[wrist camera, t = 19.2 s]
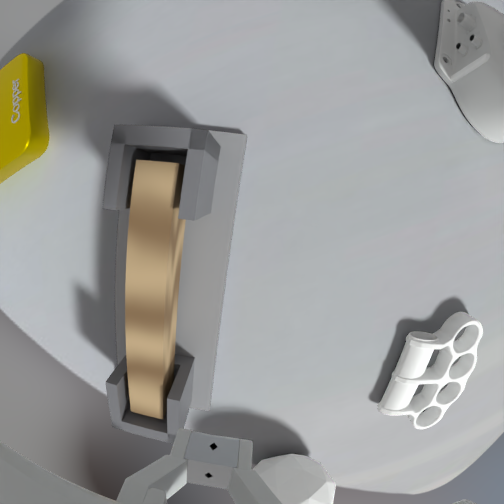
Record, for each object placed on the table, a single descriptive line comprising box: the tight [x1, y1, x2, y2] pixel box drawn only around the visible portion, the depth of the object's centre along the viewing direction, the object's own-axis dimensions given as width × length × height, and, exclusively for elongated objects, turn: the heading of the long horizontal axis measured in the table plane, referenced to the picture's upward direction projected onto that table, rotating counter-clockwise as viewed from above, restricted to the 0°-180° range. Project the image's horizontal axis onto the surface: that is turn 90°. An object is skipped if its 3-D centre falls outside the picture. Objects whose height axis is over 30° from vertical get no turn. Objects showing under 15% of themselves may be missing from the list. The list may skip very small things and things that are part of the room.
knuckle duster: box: [377, 312, 483, 429], centre depth 32 cm, size 3×18×15 cm
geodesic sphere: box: [252, 454, 336, 504], centre depth 30 cm, size 14×14×14 cm
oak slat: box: [125, 160, 186, 419], centre depth 26 cm, size 24×4×5 cm, turn 171°
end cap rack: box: [103, 125, 247, 444], centre depth 27 cm, size 32×12×9 cm, turn 171°
